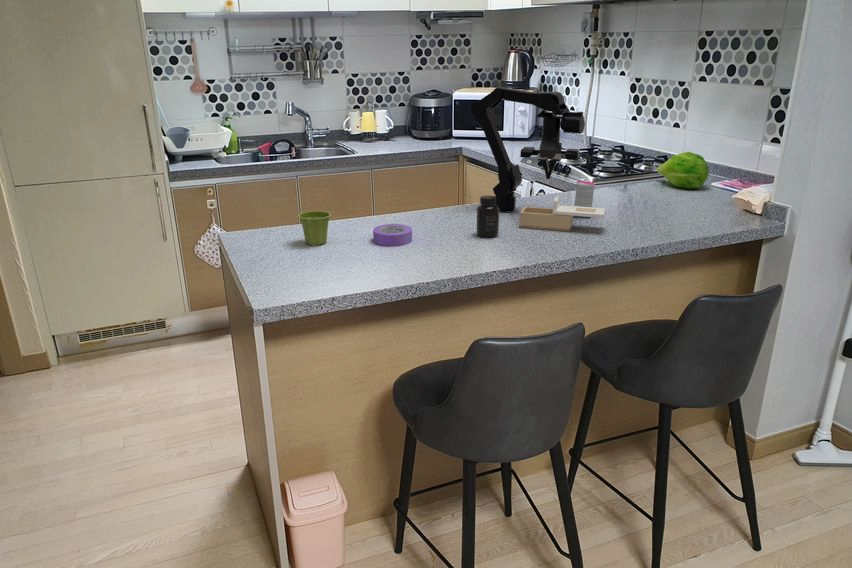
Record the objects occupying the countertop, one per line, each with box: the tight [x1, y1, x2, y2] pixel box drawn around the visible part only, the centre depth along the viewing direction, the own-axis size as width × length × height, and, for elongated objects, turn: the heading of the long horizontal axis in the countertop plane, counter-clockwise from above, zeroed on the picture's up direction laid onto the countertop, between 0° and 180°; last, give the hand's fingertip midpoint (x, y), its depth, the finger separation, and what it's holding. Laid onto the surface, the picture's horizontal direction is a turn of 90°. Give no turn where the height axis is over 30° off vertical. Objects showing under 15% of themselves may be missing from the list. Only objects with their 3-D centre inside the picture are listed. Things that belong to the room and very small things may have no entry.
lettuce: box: [656, 151, 710, 190], centre depth 269 cm, size 15×22×15 cm
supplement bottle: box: [476, 195, 500, 239], centre depth 204 cm, size 7×7×12 cm
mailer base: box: [518, 206, 574, 233], centre depth 214 cm, size 16×8×5 cm, turn 73°
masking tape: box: [372, 223, 413, 247], centre depth 201 cm, size 12×12×4 cm
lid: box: [552, 195, 607, 219], centre depth 210 cm, size 16×8×4 cm, turn 73°
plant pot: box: [297, 210, 332, 246], centre depth 198 cm, size 9×9×9 cm
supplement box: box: [573, 180, 595, 219], centre depth 225 cm, size 6×6×12 cm
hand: (548, 179), depth 224 cm, fingers closed
